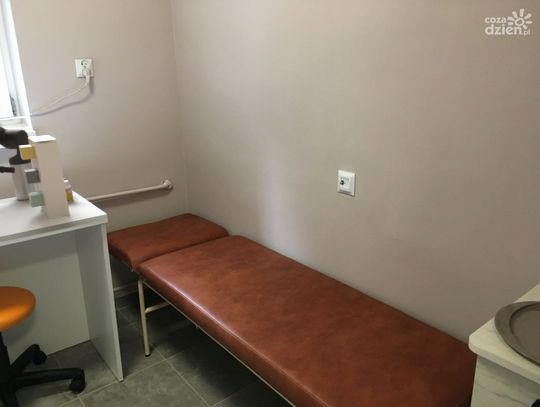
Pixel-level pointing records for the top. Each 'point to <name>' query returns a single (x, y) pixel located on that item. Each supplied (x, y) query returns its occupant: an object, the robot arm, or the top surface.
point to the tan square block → (27, 152)
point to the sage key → (36, 199)
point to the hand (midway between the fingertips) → (10, 169)
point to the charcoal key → (32, 176)
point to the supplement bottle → (68, 191)
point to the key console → (50, 176)
